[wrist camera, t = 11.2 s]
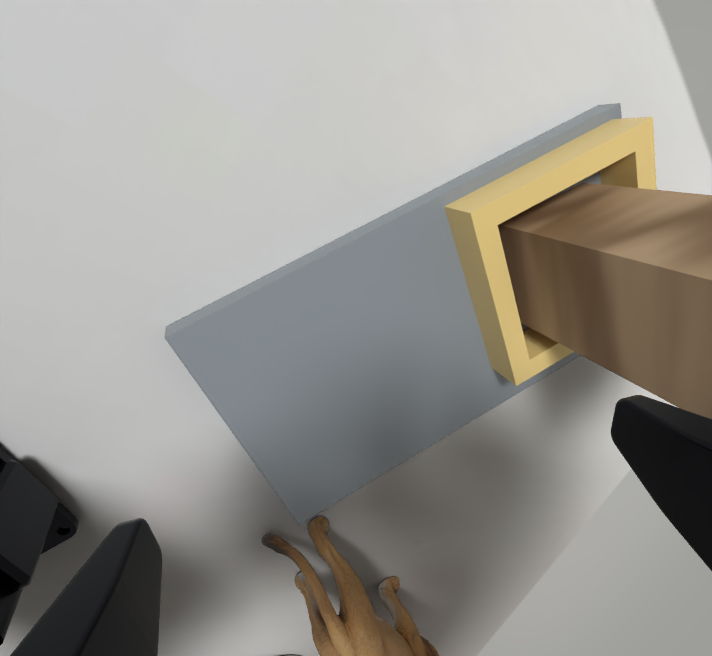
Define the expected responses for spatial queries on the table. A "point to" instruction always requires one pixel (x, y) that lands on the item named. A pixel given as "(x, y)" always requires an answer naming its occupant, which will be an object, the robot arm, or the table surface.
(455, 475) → the table surface
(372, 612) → the lion figurine
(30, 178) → the table surface
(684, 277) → the walnut column
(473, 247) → the base board
